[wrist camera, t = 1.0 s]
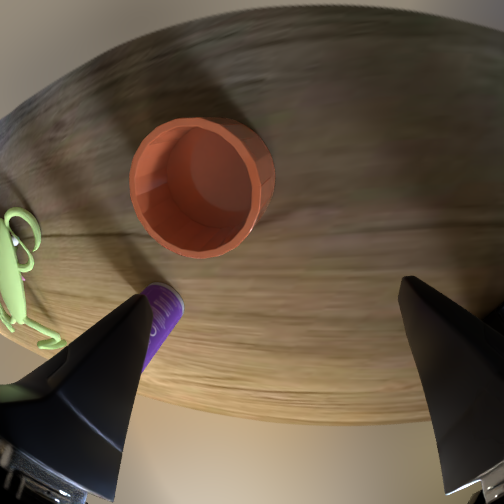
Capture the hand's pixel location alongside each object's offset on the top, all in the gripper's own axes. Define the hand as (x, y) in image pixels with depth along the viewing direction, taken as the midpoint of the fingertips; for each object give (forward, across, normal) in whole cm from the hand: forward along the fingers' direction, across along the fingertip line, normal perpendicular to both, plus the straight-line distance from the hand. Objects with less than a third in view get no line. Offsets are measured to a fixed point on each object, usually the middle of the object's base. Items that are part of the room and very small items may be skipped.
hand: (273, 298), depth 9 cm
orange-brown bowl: (+14, +4, 0) cm, 15 cm away
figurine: (+19, +40, +11) cm, 46 cm away
